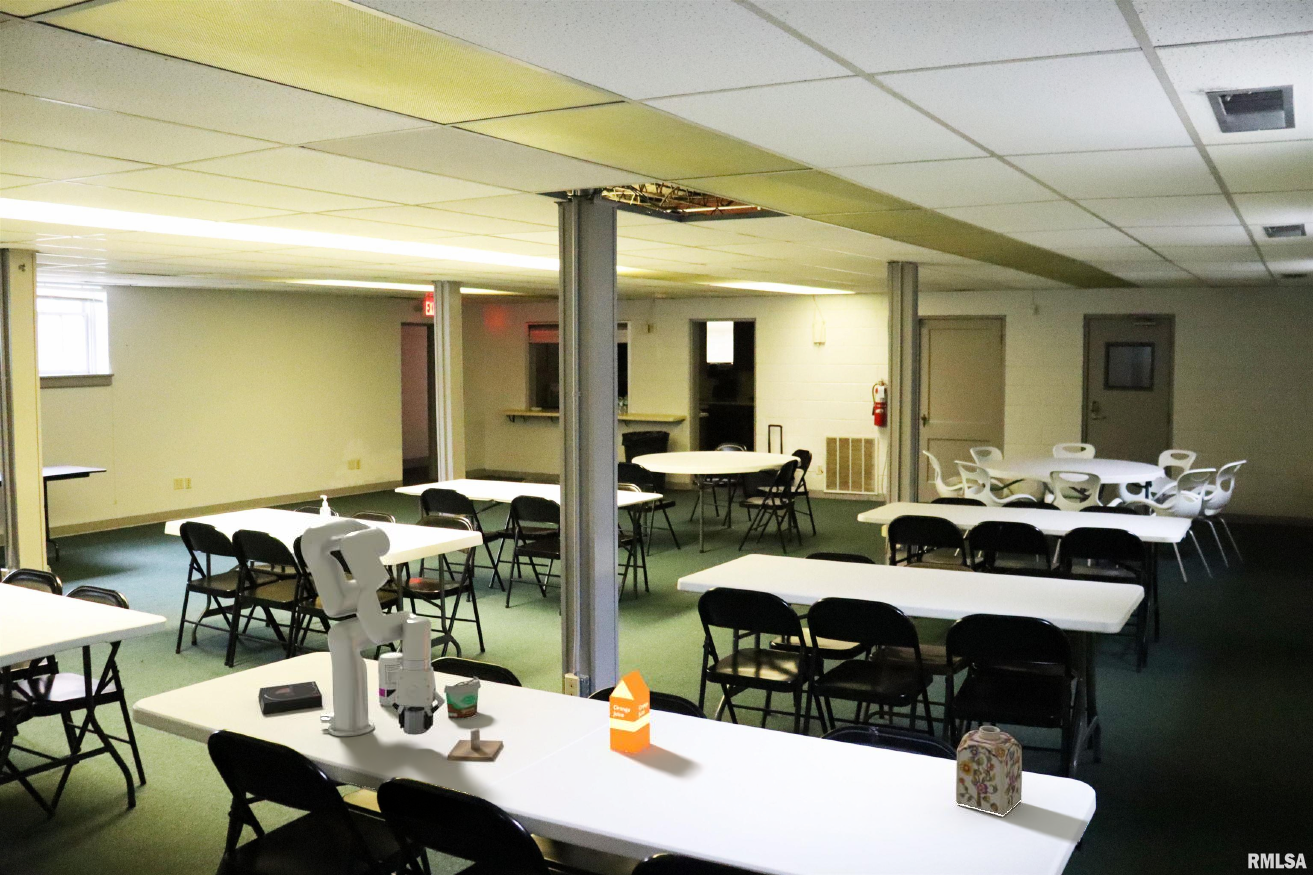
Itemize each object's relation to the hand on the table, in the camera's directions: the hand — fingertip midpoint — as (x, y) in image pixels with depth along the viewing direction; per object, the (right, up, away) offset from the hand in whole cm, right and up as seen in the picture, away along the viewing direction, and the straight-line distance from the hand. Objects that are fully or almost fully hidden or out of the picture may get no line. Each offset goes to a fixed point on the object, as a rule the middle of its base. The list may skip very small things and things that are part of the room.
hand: (415, 726), depth 288 cm
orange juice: (+58, -5, 0) cm, 59 cm away
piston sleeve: (0, -1, 0) cm, 1 cm away
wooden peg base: (+17, -6, -4) cm, 18 cm away
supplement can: (-16, -3, +38) cm, 42 cm away
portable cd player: (-48, -4, +39) cm, 62 cm away
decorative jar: (+143, -7, -40) cm, 149 cm away
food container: (+9, -4, +26) cm, 28 cm away
